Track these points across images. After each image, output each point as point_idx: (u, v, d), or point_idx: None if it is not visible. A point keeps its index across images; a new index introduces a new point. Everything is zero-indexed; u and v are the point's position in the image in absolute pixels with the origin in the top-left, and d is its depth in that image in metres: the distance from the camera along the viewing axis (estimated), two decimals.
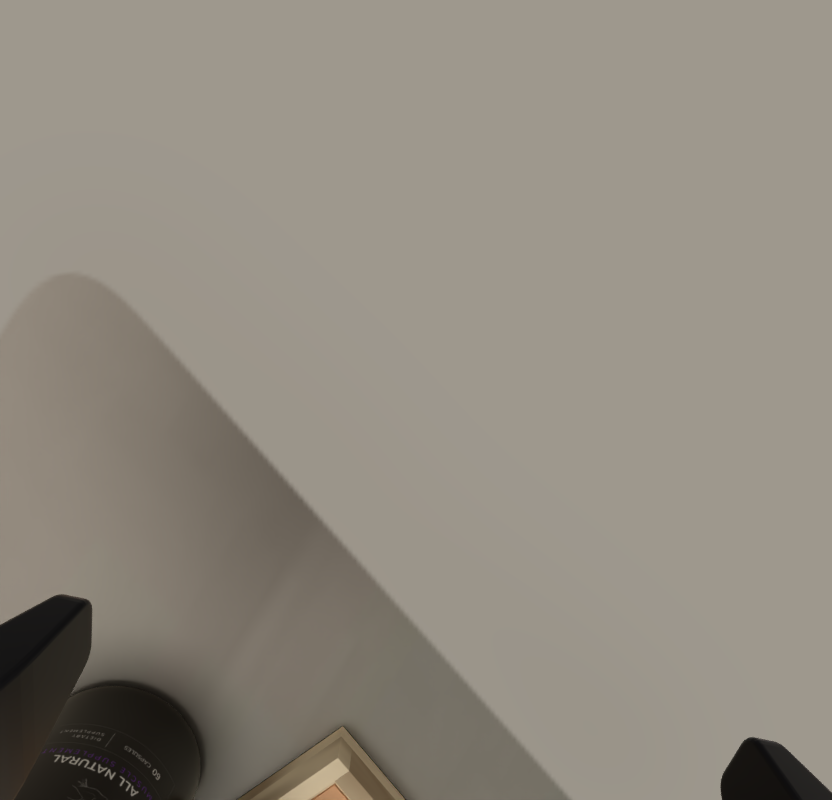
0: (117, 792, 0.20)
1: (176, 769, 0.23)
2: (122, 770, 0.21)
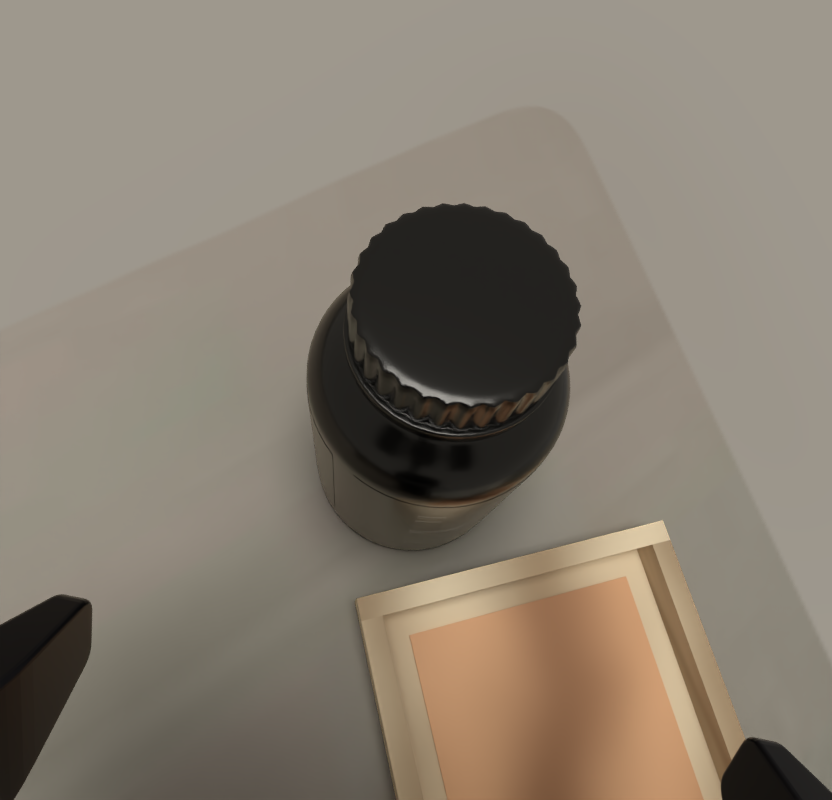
0: None
1: None
2: None
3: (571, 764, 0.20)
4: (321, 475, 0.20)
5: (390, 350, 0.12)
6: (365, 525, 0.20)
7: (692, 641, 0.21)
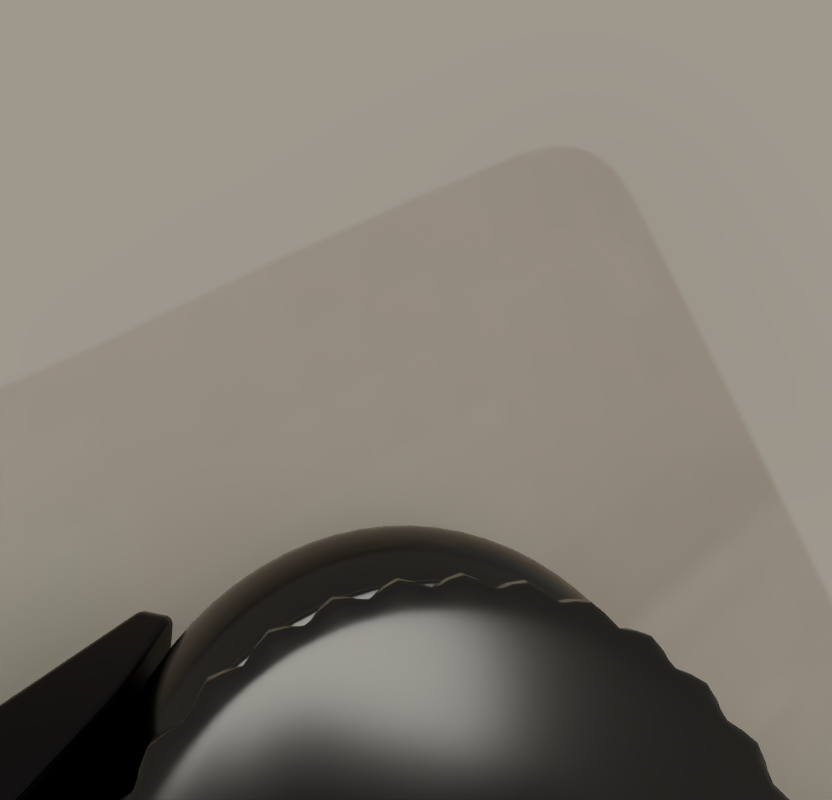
0: None
1: None
2: None
3: None
4: None
5: None
6: None
7: None
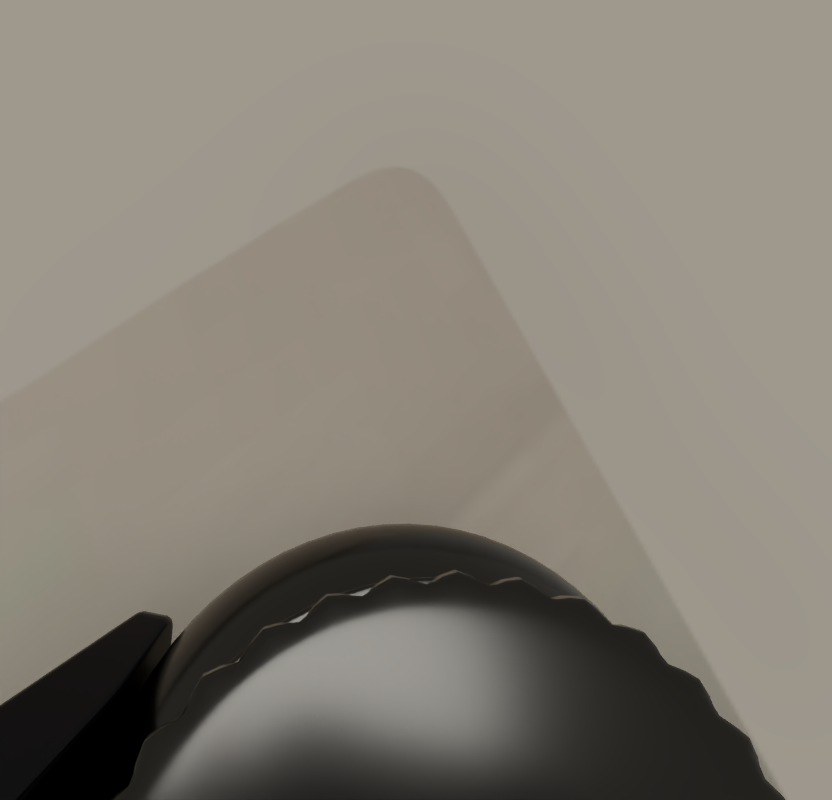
0: None
1: None
2: None
3: None
4: None
5: None
6: None
7: None
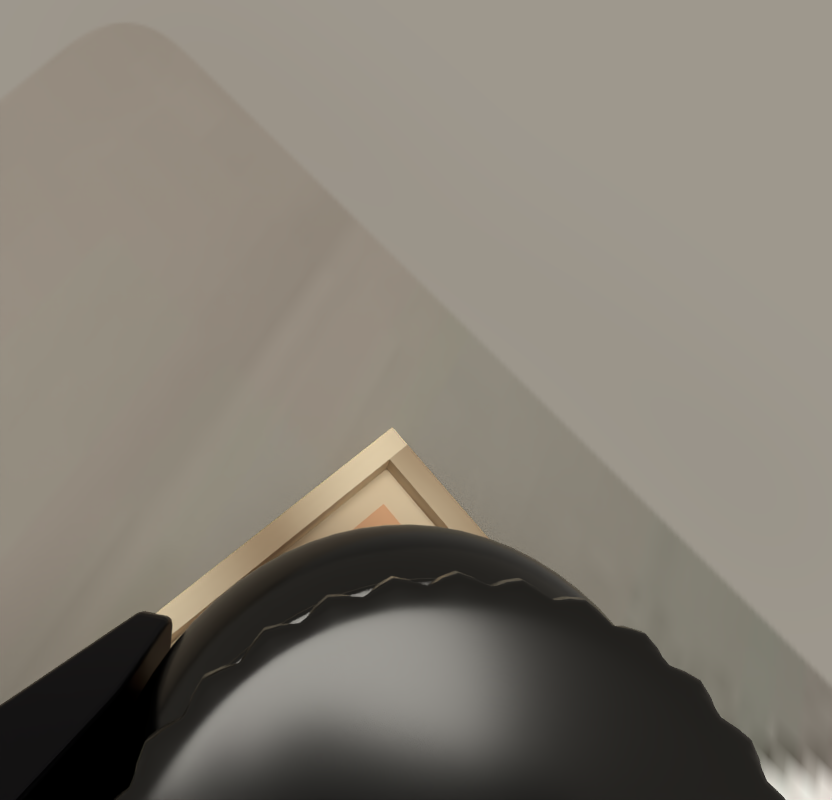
0: None
1: None
2: None
3: None
4: None
5: None
6: None
7: None
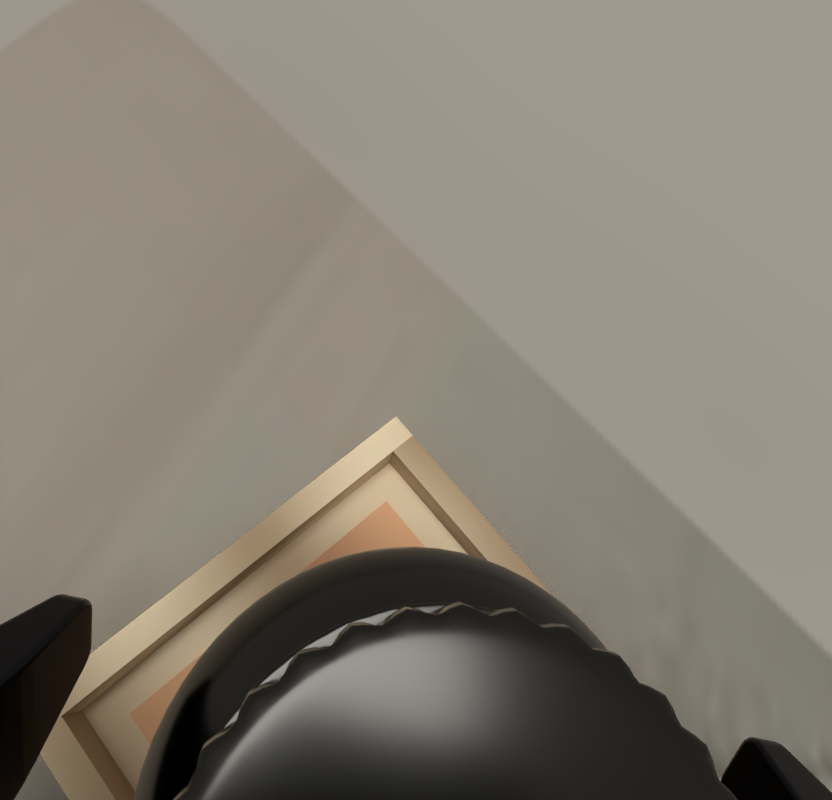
0: None
1: None
2: None
3: None
4: None
5: None
6: None
7: (478, 542, 0.16)
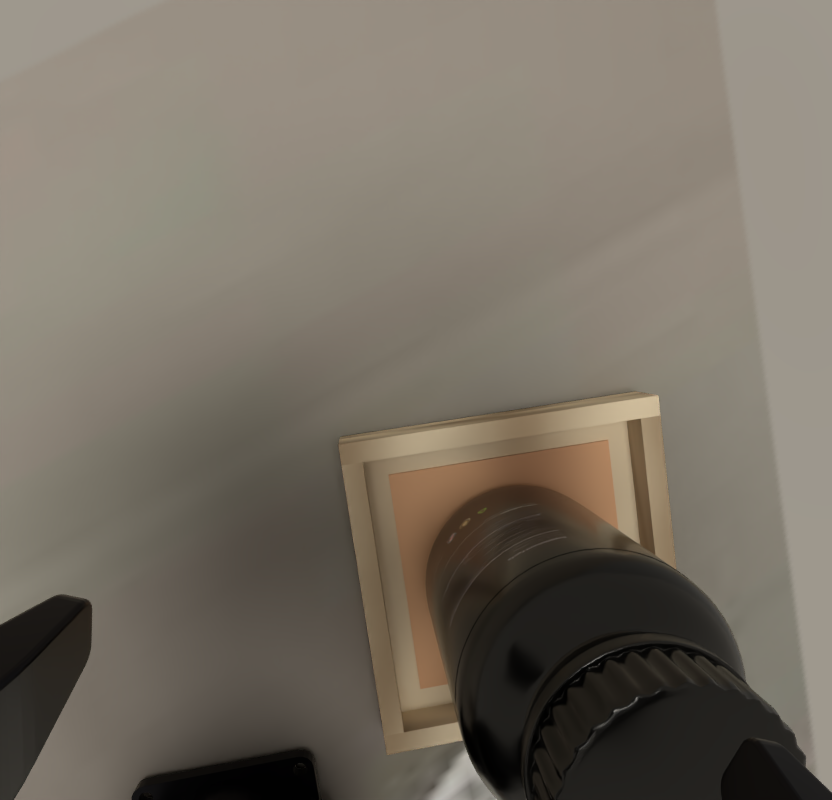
0: None
1: None
2: None
3: None
4: (433, 590, 0.19)
5: None
6: None
7: (654, 510, 0.22)
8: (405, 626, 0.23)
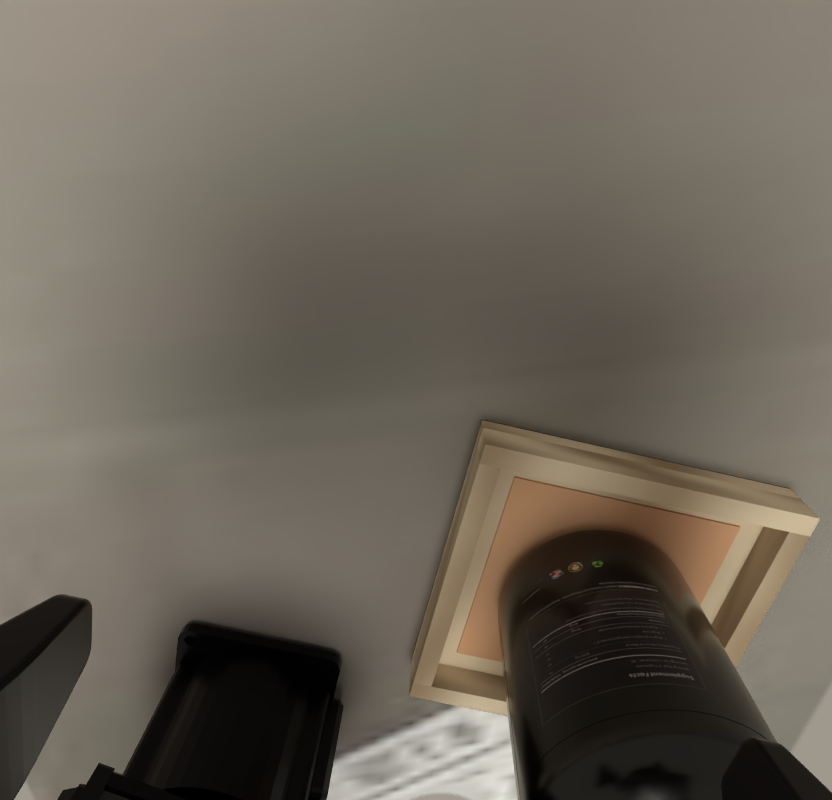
0: None
1: None
2: None
3: None
4: (520, 614, 0.20)
5: None
6: None
7: (750, 610, 0.21)
8: (467, 602, 0.23)
